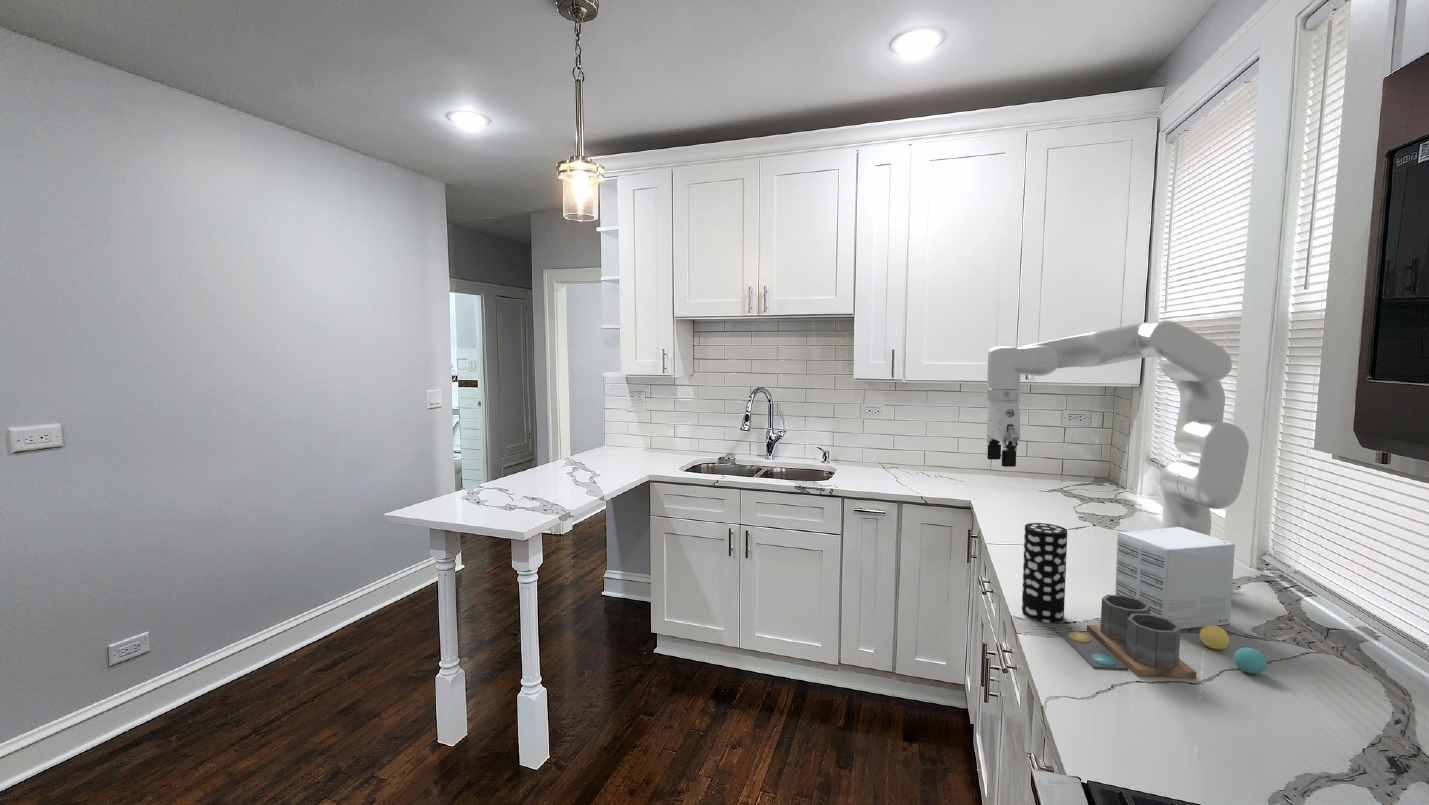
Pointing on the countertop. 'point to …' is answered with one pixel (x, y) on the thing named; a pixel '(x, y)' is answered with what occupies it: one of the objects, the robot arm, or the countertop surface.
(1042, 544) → the spotted tube
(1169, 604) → the supplement box
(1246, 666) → the teal ball
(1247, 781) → the countertop surface
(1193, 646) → the countertop surface
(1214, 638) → the ochre ball
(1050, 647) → the countertop surface
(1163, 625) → the double cup sorting tray
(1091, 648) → the card
